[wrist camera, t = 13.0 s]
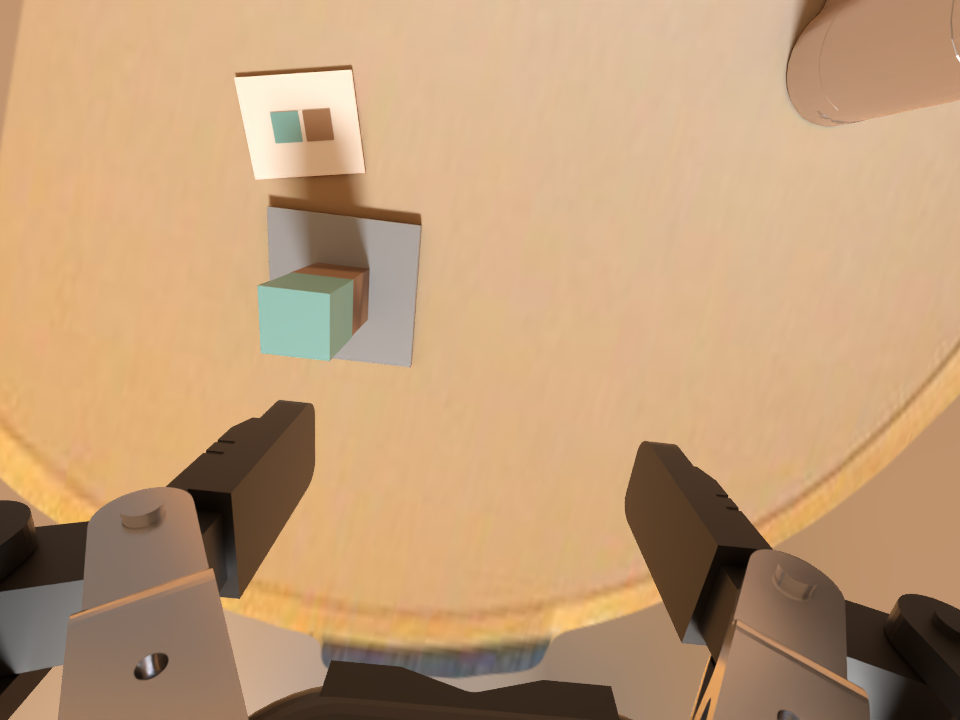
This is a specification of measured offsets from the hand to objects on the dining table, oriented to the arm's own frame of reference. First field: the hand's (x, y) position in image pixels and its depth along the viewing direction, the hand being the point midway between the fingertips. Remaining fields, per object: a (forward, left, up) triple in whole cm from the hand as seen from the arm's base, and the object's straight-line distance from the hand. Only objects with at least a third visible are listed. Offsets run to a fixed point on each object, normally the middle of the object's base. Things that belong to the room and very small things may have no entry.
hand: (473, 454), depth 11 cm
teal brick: (+4, -13, -27) cm, 30 cm away
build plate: (+4, -13, -34) cm, 37 cm away
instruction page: (-10, -17, -34) cm, 39 cm away
